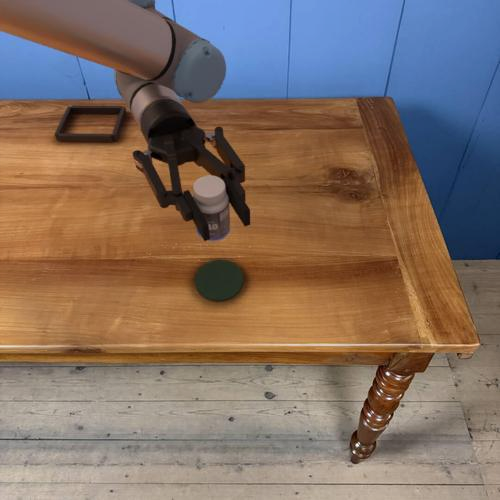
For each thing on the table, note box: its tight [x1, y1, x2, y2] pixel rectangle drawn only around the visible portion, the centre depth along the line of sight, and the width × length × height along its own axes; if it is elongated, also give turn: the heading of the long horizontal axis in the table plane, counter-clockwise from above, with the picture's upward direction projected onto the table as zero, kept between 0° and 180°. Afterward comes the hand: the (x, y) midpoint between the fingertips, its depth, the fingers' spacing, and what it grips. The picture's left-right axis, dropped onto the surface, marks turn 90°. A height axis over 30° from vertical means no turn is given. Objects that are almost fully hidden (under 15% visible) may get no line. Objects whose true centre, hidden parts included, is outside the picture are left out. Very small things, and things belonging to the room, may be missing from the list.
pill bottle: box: [192, 174, 231, 243], centre depth 60 cm, size 5×5×8 cm
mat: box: [194, 259, 244, 303], centre depth 72 cm, size 8×8×1 cm
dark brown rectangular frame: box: [54, 104, 128, 143], centre depth 97 cm, size 13×11×2 cm
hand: (227, 225), depth 55 cm, fingers closed on pill bottle, 5 cm apart
